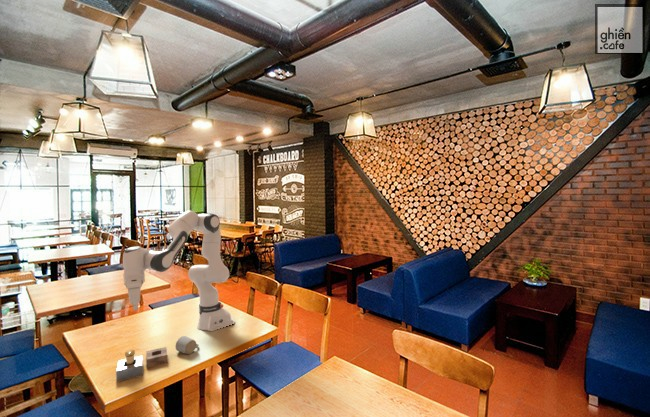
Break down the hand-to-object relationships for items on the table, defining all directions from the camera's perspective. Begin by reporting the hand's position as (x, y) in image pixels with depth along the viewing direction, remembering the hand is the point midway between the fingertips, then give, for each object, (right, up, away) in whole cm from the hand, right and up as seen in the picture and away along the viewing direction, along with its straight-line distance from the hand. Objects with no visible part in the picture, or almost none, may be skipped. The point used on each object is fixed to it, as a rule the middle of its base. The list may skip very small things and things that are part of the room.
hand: (135, 306), depth 153 cm
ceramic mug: (+21, -28, +11) cm, 37 cm away
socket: (+4, -28, -10) cm, 30 cm away
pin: (+4, -28, -10) cm, 30 cm away
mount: (+10, -28, +1) cm, 29 cm away
